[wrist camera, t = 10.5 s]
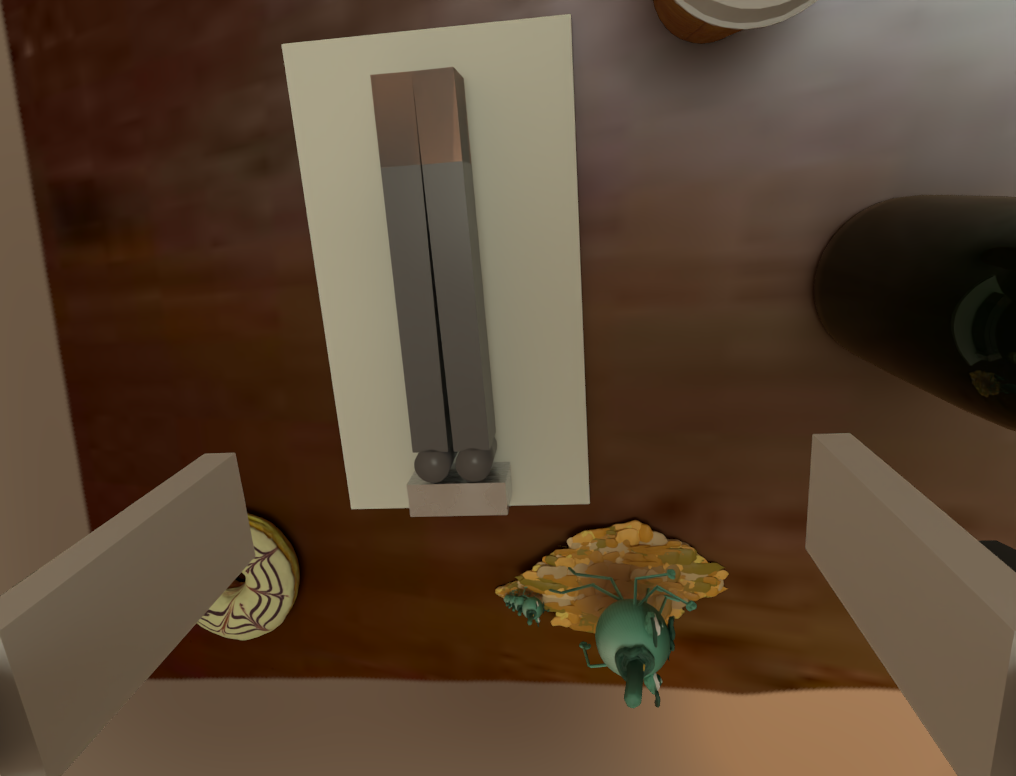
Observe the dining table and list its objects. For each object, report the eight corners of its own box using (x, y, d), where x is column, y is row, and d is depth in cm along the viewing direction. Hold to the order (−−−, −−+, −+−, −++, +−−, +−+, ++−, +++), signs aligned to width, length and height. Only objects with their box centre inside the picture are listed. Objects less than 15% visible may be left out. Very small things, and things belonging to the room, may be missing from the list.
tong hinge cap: (510, 461, 47) (505, 482, 43) (512, 491, 48) (507, 514, 44) (418, 464, 48) (406, 484, 44) (421, 494, 48) (410, 516, 45)
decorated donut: (183, 604, 54) (155, 633, 51) (184, 490, 51) (154, 512, 48) (302, 629, 54) (283, 660, 50) (311, 515, 51) (290, 539, 47)
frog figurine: (492, 507, 49) (491, 629, 35) (727, 509, 50) (820, 631, 35) (490, 616, 52) (489, 772, 37) (714, 618, 52) (796, 772, 38)
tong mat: (570, 17, 39) (570, 14, 38) (589, 499, 48) (589, 503, 47) (286, 46, 41) (281, 44, 40) (354, 504, 50) (351, 509, 49)
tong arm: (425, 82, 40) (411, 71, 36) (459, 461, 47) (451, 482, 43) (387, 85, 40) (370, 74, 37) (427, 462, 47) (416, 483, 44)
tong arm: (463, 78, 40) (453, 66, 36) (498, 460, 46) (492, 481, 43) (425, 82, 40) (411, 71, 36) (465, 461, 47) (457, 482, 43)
